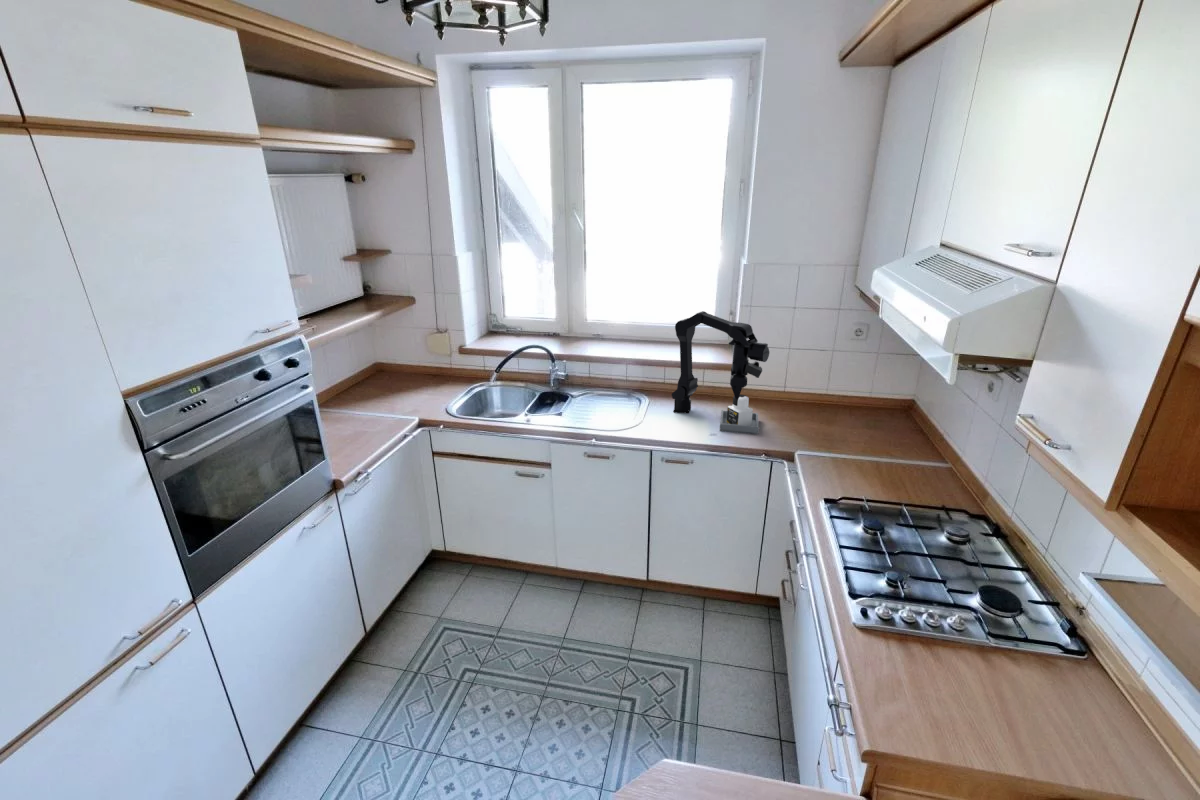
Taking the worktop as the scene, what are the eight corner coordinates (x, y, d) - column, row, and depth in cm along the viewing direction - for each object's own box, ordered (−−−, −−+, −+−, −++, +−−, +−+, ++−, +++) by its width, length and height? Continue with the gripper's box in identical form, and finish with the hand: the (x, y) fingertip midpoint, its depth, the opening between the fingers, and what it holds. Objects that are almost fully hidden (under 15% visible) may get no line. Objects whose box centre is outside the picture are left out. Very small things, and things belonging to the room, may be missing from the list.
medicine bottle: (726, 422, 227) (728, 394, 223) (740, 419, 230) (742, 391, 226) (737, 428, 221) (739, 400, 217) (751, 425, 224) (754, 397, 220)
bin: (719, 430, 221) (720, 423, 220) (721, 417, 234) (721, 410, 233) (758, 434, 218) (758, 427, 217) (757, 420, 231) (757, 413, 230)
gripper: (762, 365, 206) (758, 405, 211) (761, 351, 223) (757, 388, 228) (731, 363, 208) (728, 402, 214) (732, 350, 225) (729, 386, 231)
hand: (737, 395), depth 222 cm, fingers open, 9 cm apart
